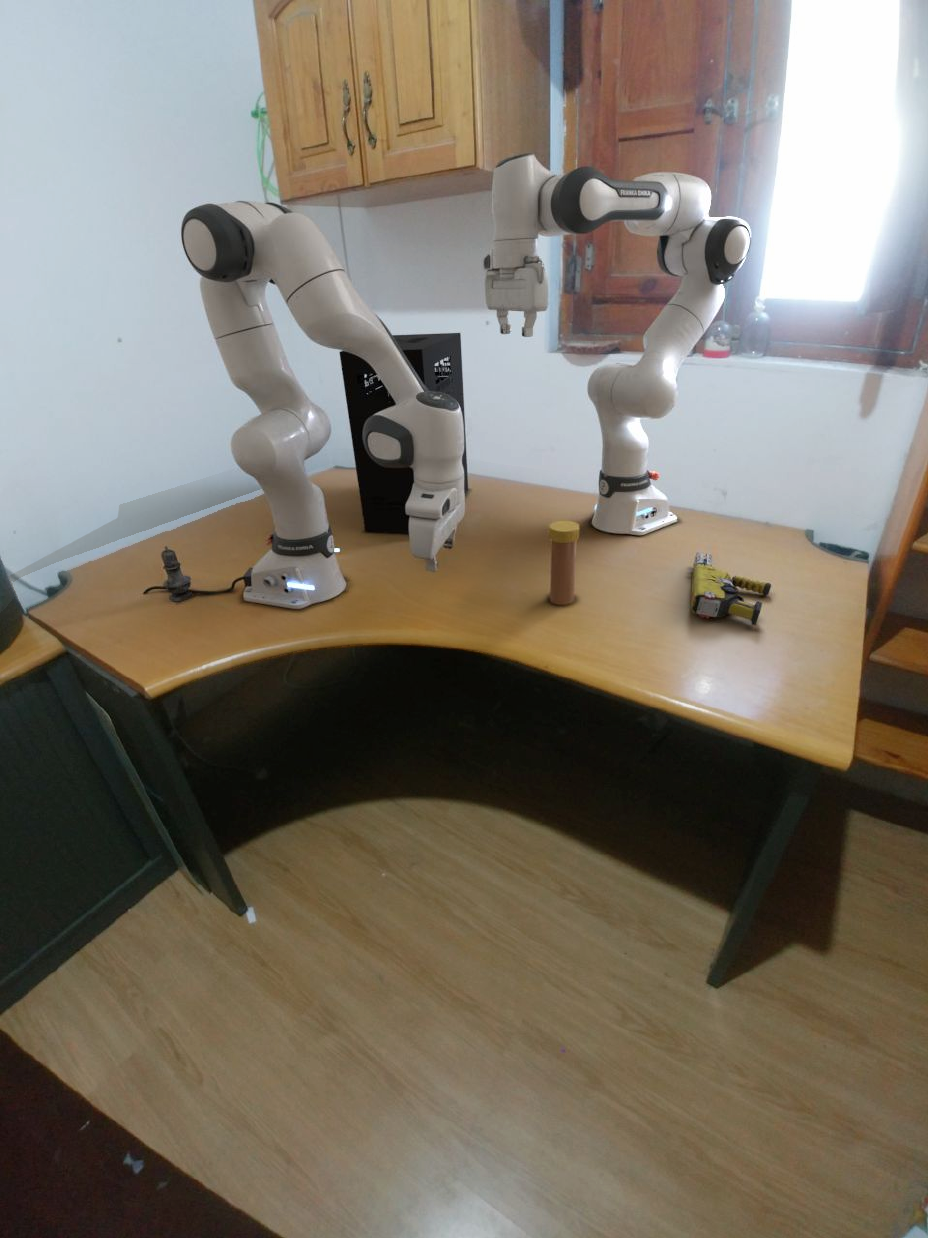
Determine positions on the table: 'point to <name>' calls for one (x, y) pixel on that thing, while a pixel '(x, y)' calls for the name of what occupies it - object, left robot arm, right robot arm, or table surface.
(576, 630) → the table surface
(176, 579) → the grey chess piece
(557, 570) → the jar
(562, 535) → the lid
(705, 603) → the toy gun
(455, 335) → the black computer case
